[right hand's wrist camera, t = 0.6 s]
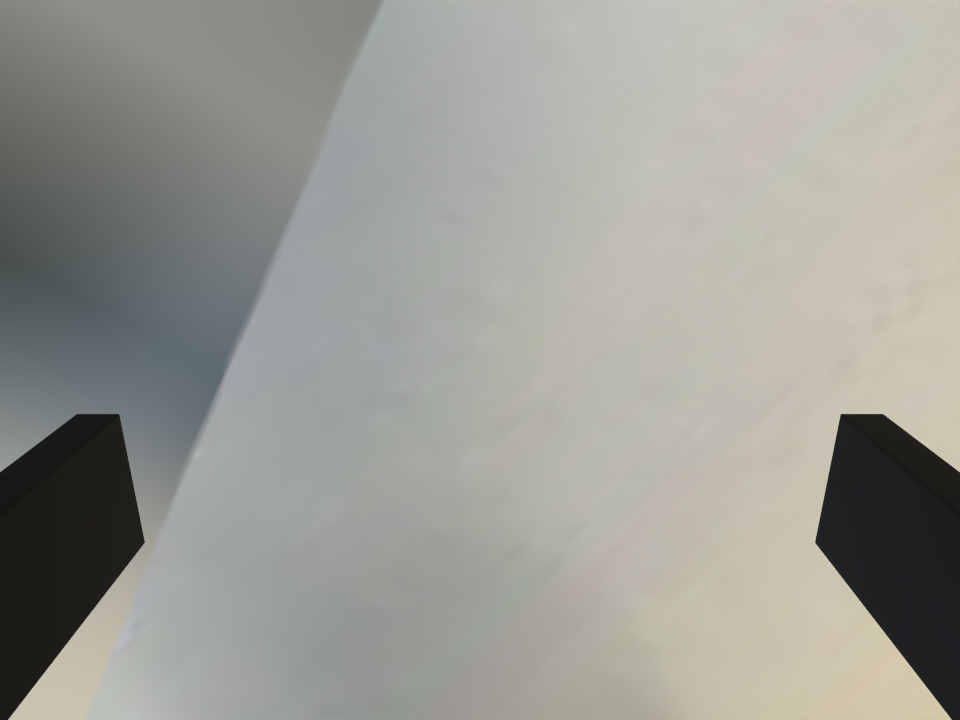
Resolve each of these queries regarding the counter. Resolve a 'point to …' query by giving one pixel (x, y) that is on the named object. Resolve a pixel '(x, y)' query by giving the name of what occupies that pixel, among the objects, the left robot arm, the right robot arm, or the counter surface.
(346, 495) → the counter surface
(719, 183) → the counter surface
